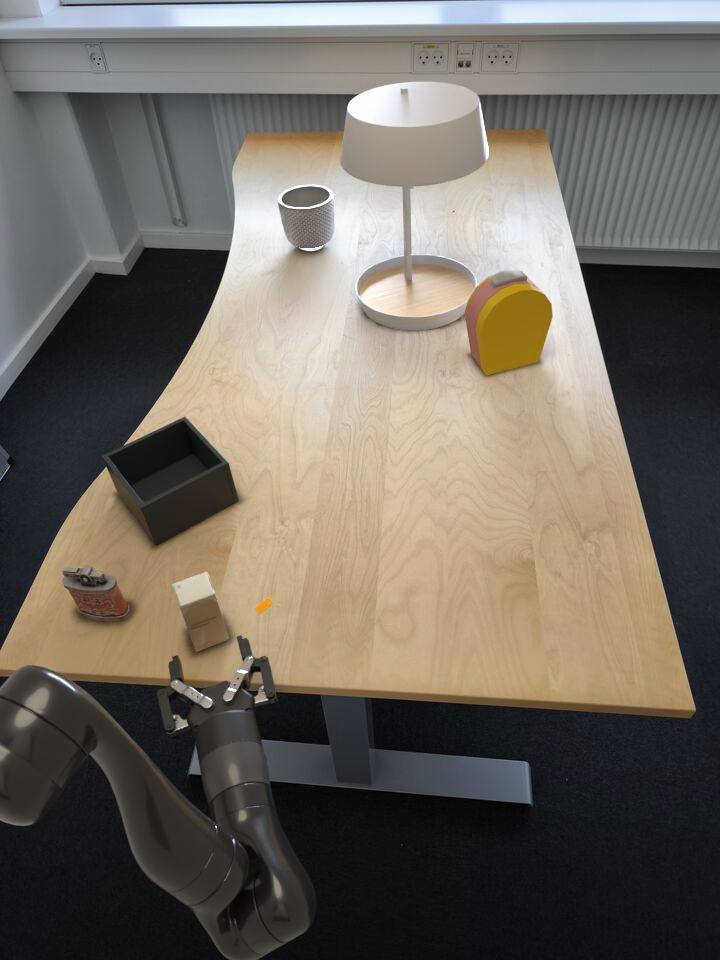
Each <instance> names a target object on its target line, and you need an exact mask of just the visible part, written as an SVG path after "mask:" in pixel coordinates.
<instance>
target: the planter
mask: <svg viewBox="0 0 720 960" xmlns="http://www.w3.org/2000/svg"><path fill="white" fill-rule="evenodd" d="M277 206H278V207H277V208H278V212H279V215H280V221H281V225H282V229H283V232H284V234H285V237H286V239H287V240H288V242H289V243H290V244H291V245H293V246H294V247H296V246H297V247H296V248H298V247H300V248H315V247H319V246H322V245H324V244H325V245H326V244H327V243H329V242H330V241H331V239H332V238H333V236H334V234H335V224H336V223H335V221H336V220H335V217H336V214H335V212H336V211H335V209H336V208H335V196H334V193H333V191H332V189H330V188H329V187H327V186H323V185H318V184H304V185H298V186H294V187H291V188H288V189H286V190H284V191H282V193H280V194H279V195H278V198H277Z"/></svg>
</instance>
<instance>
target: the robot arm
mask: <svg viewBox="0 0 720 960" xmlns="http://www.w3.org/2000/svg"><path fill="white" fill-rule="evenodd" d="M236 640H237V641H236V642H237V645H238V649H239V651H240V656H241V660H242V663H241V665H240V667H239V669H237V670H236V672H235V674H234V676H233V678H232V679H231V681H228V679H227V680H224V681H221V682H219V683H217V684H215V685H208V686H205V687H202V690H201V691H197V690H196V689H195V688H193V687H192V686H190V685H186V682H185V677H184V671H183V666H182V662H181V659H180V657H179V655H178V654H176V655H173V656H172V657H171V658H172V660H171V661H169V662H168V665H167V666H168V673H169V677H170V684H169V685H168V686H167V687H164V688H163V687H161V688H159V689H158V690H157V692H156V695H157V700H158V701H157V702H158V705H159V709H160V710H159V711H160V714H161V718H162V723H163V728H164V730H165V732H166V734H167V736H168V737H169V739H170V740H173V741H174V740H176V739H178V738H179V737H180V734H182V733H184V732H187V731H189V730H190V731H192V733H193V738H194V742H195V743H194V744H195V749H196V755H197V760H198V766H199V772H200V776H201V777H200V778H201V782H202V787H203V791H204V795H205V797H206V801H207V804H208V807H209V814H210V817H209V816H208V815H206V814H205V813H204V812H203V811H201V809H199V808H198V807H197V806H196V805H194V804H193V803H192V802H191V801H190V800H188V798H187V797H186V796H184V794H182V793H181V792H180V790H179V789H178V788H177V786H175V785H174V784H173V782H171V781H170V780H169V778H168V777H167V776H166V774H164V772H163V771H162V770H161V769H160V768H159V767H158V766H157V764H156V763H155V762H154V761H153V760H152V759H151V757H149V755H148V754H147V753H146V752H145V751H144V749H142V747H141V746H140V745H139V743H137V742H136V741H135V740H134V739H133V738H132V737H131V736H130V734H129V733H128V732H127V731H126V730H125V729H124V728H123V727H122V725H120V723H118V722H117V721H116V719H115V718H113V716H112V715H111V714H110V713H109V712H108V711H107V710H106V709H105V708H104V707H103V706H102V704H101V703H99V702H98V701H97V700H96V699H95V698H94V697H93V696H92V695H91V694H90V693H89V692H87V690H85V689H83V688H82V687H81V686H80V685H78V684H77V683H75V682H74V681H73V680H71V679H69V678H68V677H66V676H64V675H63V674H60V673H59V672H57V671H55V670H52V669H50V668H47V667H44V666H40V665H34V664H31V665H30V664H28V665H23V666H21V667H18V669H16V670H14V672H13V673H12V674H11V675H10V676H9V677H8V678H7V679H6V680H5V681H4V683H2V685H1V686H0V821H1V822H3V823H6V824H10V825H14V826H20V827H25V826H31V825H35V824H36V823H38V822H39V821H41V819H43V817H45V816H46V814H47V813H48V812H49V811H50V810H51V808H52V807H53V806H54V805H55V803H56V802H57V801H58V799H59V798H60V797H61V795H62V794H63V792H64V791H65V789H66V787H68V785H69V783H70V782H71V781H72V779H73V778H74V776H75V775H76V773H77V772H78V771H79V769H80V768H81V766H82V765H83V764H84V762H85V761H86V759H87V758H88V757H89V756H90V757H91V758H92V759H93V760H94V761H95V762H96V763H97V765H98V766H99V767H100V769H101V771H102V772H103V774H104V775H105V778H106V779H107V781H108V782H109V785H110V788H111V791H112V793H113V795H114V797H115V800H116V804H117V807H118V810H119V813H120V818H121V822H122V825H123V828H124V832H125V835H126V838H127V842H128V844H129V849H130V851H131V854H132V856H133V858H134V860H135V862H136V863H137V865H138V867H139V869H140V870H141V871H142V872H143V874H144V875H145V876H146V877H147V878H148V879H149V880H150V881H151V882H152V883H154V884H155V885H156V886H158V887H159V888H160V889H162V891H164V892H165V893H167V894H169V895H170V896H171V897H173V898H175V899H176V900H177V901H178V902H180V903H182V904H183V905H185V906H186V907H188V908H189V909H190V910H191V911H192V913H193V914H194V916H195V917H196V919H197V920H198V921H199V923H200V924H201V926H202V927H203V929H204V930H205V931H206V933H207V934H208V935H209V937H210V939H211V941H212V942H213V944H214V945H215V947H216V948H217V950H218V951H219V952H220V953H221V954H222V956H224V957H225V958H226V959H228V960H260V959H261V958H263V957H264V956H266V955H268V954H269V953H271V952H273V951H275V950H277V949H279V948H280V947H282V946H284V945H286V944H288V942H291V941H293V940H295V939H297V938H298V937H300V936H301V935H303V934H305V932H307V931H308V930H309V929H310V927H312V924H313V922H314V920H315V916H316V911H317V896H316V891H315V888H314V885H313V882H312V879H311V878H310V876H309V874H308V873H307V871H306V869H305V868H304V866H303V864H302V863H301V861H300V859H299V858H298V856H297V854H296V853H295V851H294V848H293V847H292V845H291V843H290V841H289V839H288V837H287V835H286V833H285V831H284V829H283V827H282V824H281V822H280V819H279V817H278V812H277V808H276V803H275V800H274V794H273V791H272V787H271V780H270V772H269V766H268V758H267V755H266V754H265V750H264V745H263V742H262V737H261V733H260V730H259V726H258V722H257V717H256V710H257V707H260V706H264V705H268V706H269V707H276V706H277V705H278V701H279V700H278V697H277V696H278V695H277V690H276V686H275V682H274V676H273V671H272V667H271V664H270V661H269V658H268V656H266V655H262V656H260V657H255V656H254V654H253V651H252V647H251V644H250V641H249V639H248V638H247V637H244V638H243V635H242V634H240V635H237V636H236ZM256 673H260V675H261V680H262V684H263V685H261V686H260V687H259V688H258V690H257V692H258V693H257V694H256V695H255V696H254V695H253V694H252V693H251V692H249V690H250V688H251V686H252V681H253V679H254V677H255V675H256ZM176 699H178V700H180V701H181V702H183V703H184V704H186V706H187V707H189V709H190V710H189V712H188V714H187V716H186V719H183V718H182V717H181V715H180V714H175V710H174V706H173V701H174V700H176ZM257 858H258V861H259V864H260V870H258V871H257V872H255V873H253V874H251V875H250V876H249V872H250V860H252V859H253V860H254V859H257Z"/></svg>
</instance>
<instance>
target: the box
mask: <svg viewBox="0 0 720 960" xmlns="http://www.w3.org/2000/svg"><path fill="white" fill-rule="evenodd" d="M212 582H213V581H212V580H211V577H210V575H209V572H208V571H204V572H201V573H198V574H196V575H193V576H190V577H187V578H184V579H182V580H180V581H177V582H175V583H172V585H171V586H172V589H173V592H174V595H175V598H176V601H177V603H178V606H179V609H180V612H181V615H182V618H183V620H184V624H185V626H186V629H187V631H188V635H189V637H190V640H191V642H192V645H193V647H194V650H195V652H197V653H198V652H200V651H203V650H206V649H208V648H211V647H213V646H217V645H219V644H221V643H223V642H226V641H228V640H229V639H230V638H229V637H230V636H229V634H228V631H227V627H226V624H225V621H224V618H223V613H222V610H221V607H220V604H219V601H218V598H217V595H216V592H215V589H214V585H213V583H212Z"/></svg>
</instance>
